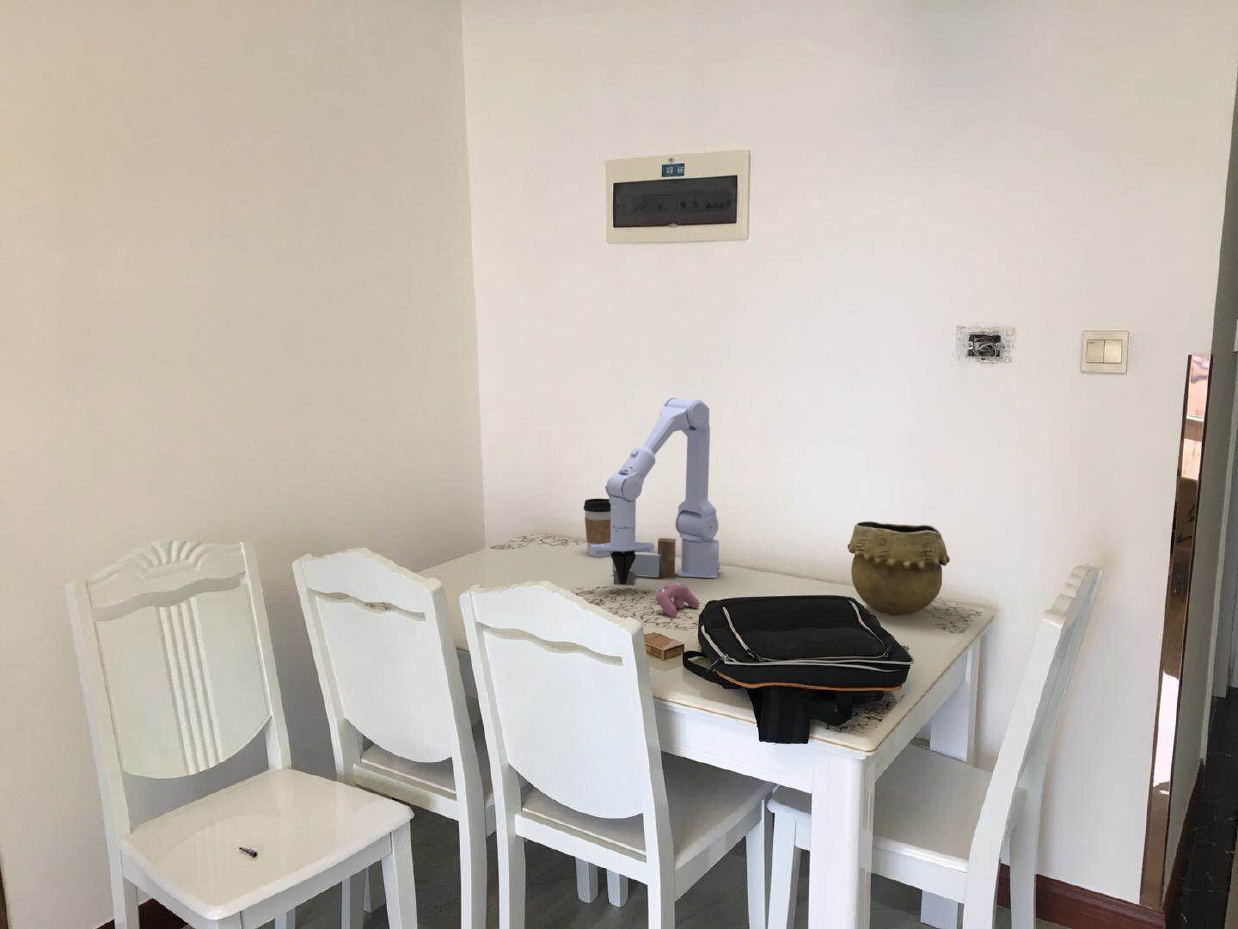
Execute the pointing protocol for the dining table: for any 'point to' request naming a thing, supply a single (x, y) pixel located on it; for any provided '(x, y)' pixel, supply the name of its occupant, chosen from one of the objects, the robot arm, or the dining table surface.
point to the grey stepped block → (630, 578)
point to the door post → (667, 557)
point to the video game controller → (675, 598)
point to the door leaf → (646, 564)
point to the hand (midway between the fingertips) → (622, 583)
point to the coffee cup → (597, 523)
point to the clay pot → (897, 566)
